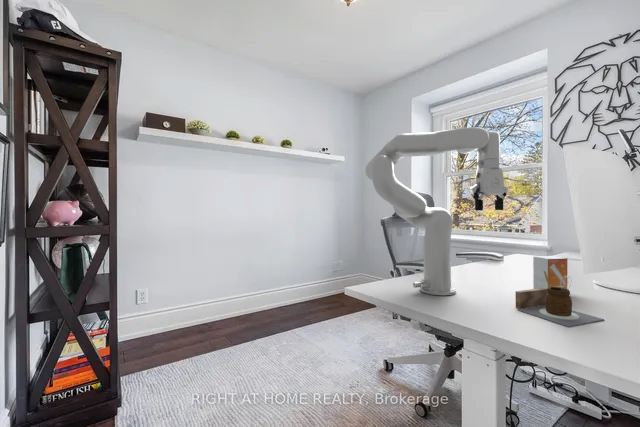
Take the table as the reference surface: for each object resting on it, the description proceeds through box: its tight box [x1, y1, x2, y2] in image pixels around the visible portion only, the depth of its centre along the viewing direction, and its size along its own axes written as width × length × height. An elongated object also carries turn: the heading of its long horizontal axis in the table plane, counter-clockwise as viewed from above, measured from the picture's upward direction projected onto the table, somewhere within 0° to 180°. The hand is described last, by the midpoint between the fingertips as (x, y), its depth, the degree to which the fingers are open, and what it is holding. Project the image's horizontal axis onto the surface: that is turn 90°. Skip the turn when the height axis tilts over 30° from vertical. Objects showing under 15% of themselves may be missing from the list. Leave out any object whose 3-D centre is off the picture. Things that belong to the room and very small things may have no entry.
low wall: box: [515, 286, 566, 309], centre depth 95 cm, size 20×2×5 cm, turn 107°
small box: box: [532, 255, 568, 289], centre depth 108 cm, size 8×6×13 cm
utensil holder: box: [544, 271, 573, 316], centre depth 86 cm, size 6×6×12 cm
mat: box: [517, 305, 605, 328], centre depth 86 cm, size 14×14×1 cm
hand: (489, 210), depth 114 cm, fingers open, 9 cm apart
